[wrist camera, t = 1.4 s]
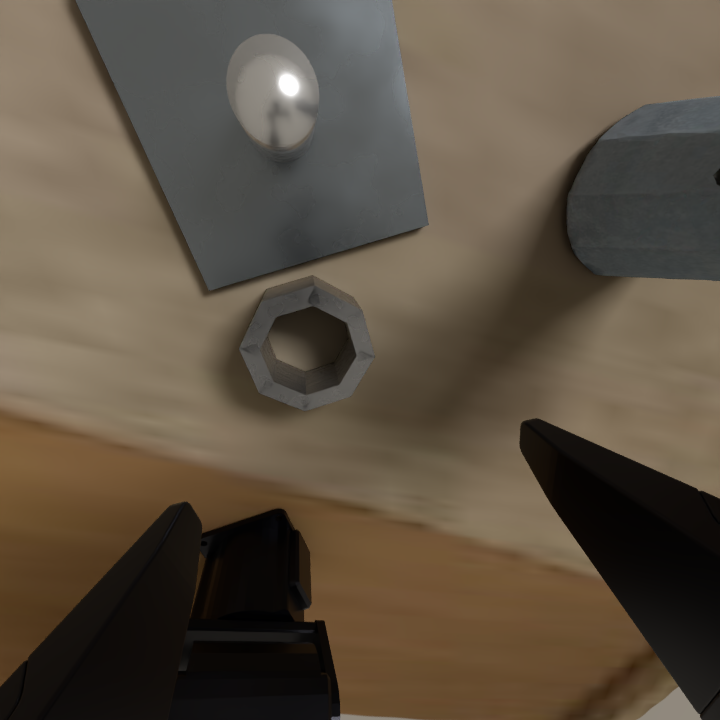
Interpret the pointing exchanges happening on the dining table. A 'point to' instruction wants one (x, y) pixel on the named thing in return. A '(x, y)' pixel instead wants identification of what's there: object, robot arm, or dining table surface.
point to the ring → (319, 382)
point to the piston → (267, 123)
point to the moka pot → (652, 195)
